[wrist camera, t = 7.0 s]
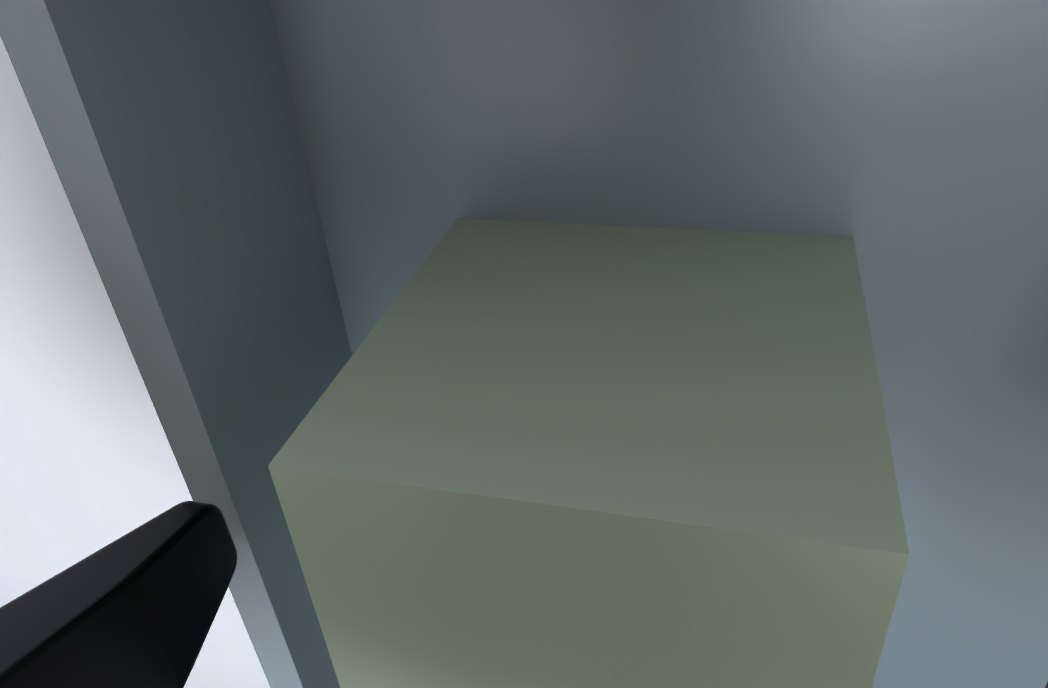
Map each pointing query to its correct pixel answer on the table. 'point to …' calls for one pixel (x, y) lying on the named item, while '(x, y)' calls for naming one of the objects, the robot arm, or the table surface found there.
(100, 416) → the table surface
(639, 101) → the tote
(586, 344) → the painted cube
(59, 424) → the table surface
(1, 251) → the table surface
